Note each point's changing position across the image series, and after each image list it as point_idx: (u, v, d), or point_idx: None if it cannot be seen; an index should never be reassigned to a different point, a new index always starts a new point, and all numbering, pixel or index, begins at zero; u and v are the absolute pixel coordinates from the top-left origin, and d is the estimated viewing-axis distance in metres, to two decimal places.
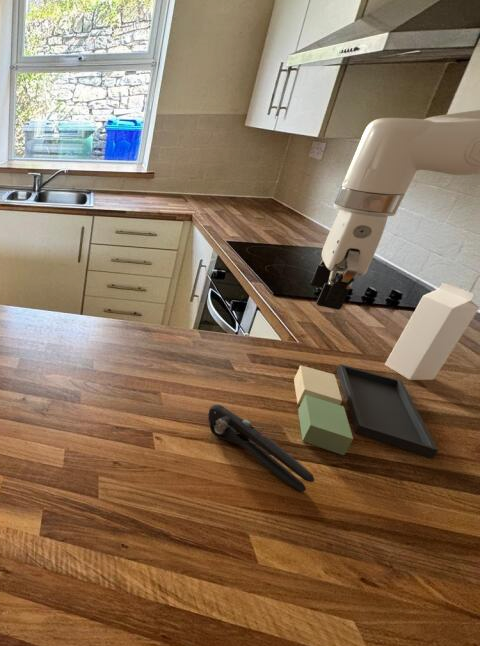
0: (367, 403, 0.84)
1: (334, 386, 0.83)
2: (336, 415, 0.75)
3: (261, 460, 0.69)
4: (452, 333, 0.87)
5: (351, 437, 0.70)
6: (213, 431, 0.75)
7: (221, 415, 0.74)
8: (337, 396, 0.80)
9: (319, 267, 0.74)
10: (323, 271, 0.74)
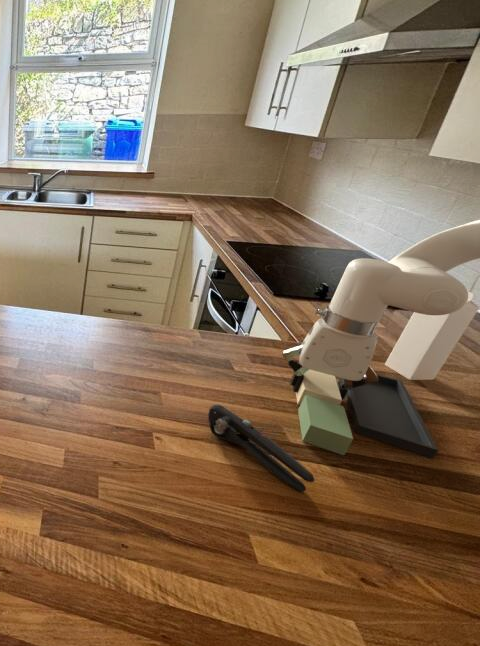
0: (367, 403, 0.84)
1: (334, 386, 0.83)
2: (336, 415, 0.75)
3: (261, 460, 0.69)
4: (452, 333, 0.86)
5: (351, 437, 0.70)
6: (213, 431, 0.75)
7: (221, 415, 0.74)
8: (337, 396, 0.80)
9: (338, 382, 0.84)
10: None
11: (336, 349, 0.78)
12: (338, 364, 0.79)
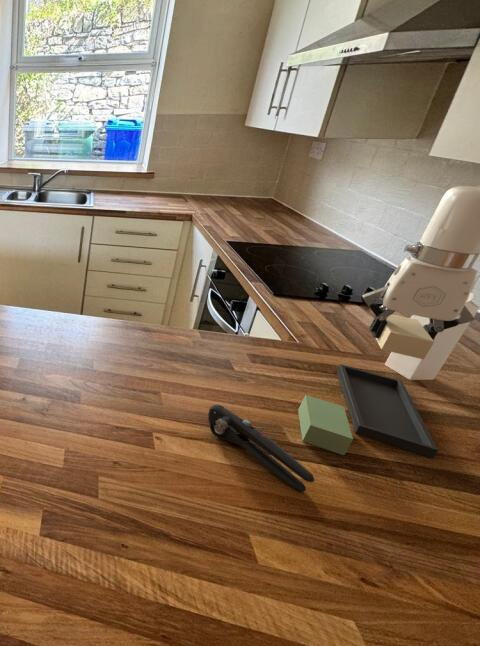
0: (367, 403, 0.84)
1: (421, 329, 0.78)
2: (336, 415, 0.75)
3: (261, 460, 0.69)
4: (452, 333, 0.86)
5: (351, 437, 0.70)
6: (213, 431, 0.75)
7: (221, 415, 0.74)
8: (428, 338, 0.75)
9: (424, 325, 0.79)
10: None
11: (429, 286, 0.73)
12: (430, 303, 0.74)
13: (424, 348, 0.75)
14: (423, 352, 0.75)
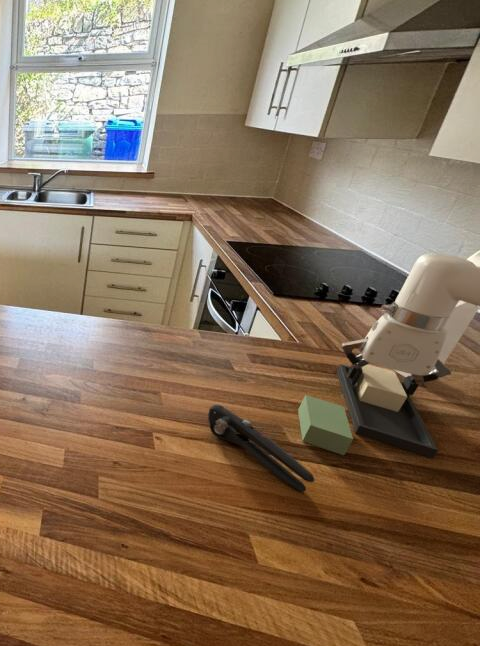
0: (367, 403, 0.84)
1: (396, 382, 0.84)
2: (336, 415, 0.75)
3: (261, 460, 0.69)
4: (452, 333, 0.86)
5: (351, 437, 0.70)
6: (213, 431, 0.75)
7: (221, 415, 0.74)
8: (402, 392, 0.81)
9: None
10: (406, 380, 0.83)
11: (403, 344, 0.79)
12: (405, 359, 0.80)
13: (398, 402, 0.81)
14: (397, 405, 0.81)
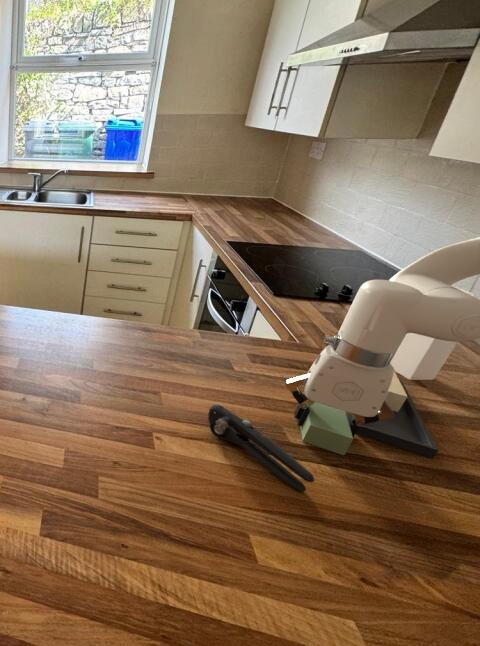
0: None
1: (396, 382, 0.84)
2: (336, 415, 0.75)
3: (261, 460, 0.69)
4: None
5: (351, 437, 0.70)
6: (213, 431, 0.75)
7: (221, 415, 0.74)
8: (402, 392, 0.81)
9: (348, 416, 0.75)
10: None
11: (347, 381, 0.69)
12: (349, 398, 0.70)
13: (398, 402, 0.81)
14: (397, 405, 0.81)
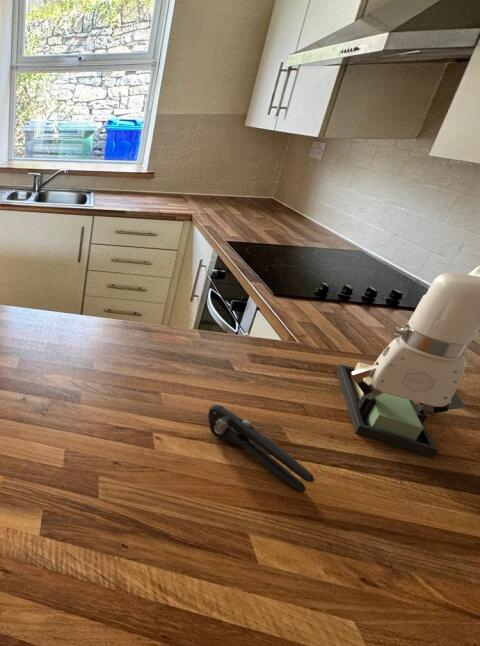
0: None
1: None
2: (402, 406, 0.77)
3: (261, 460, 0.69)
4: None
5: (421, 426, 0.72)
6: (213, 431, 0.75)
7: (221, 415, 0.74)
8: None
9: (414, 406, 0.77)
10: None
11: (418, 372, 0.71)
12: (419, 388, 0.72)
13: None
14: None
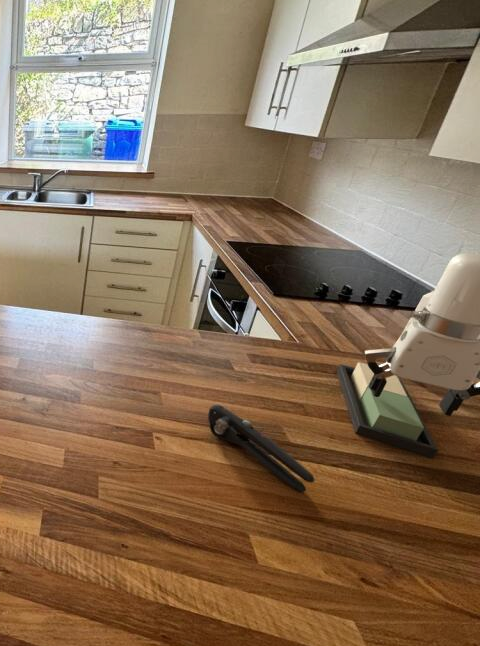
0: None
1: (396, 382, 0.84)
2: (403, 406, 0.77)
3: (261, 460, 0.68)
4: None
5: (422, 426, 0.72)
6: (213, 431, 0.75)
7: (221, 415, 0.74)
8: (402, 392, 0.81)
9: (449, 390, 0.74)
10: (448, 394, 0.74)
11: (438, 356, 0.70)
12: (440, 372, 0.71)
13: None
14: None
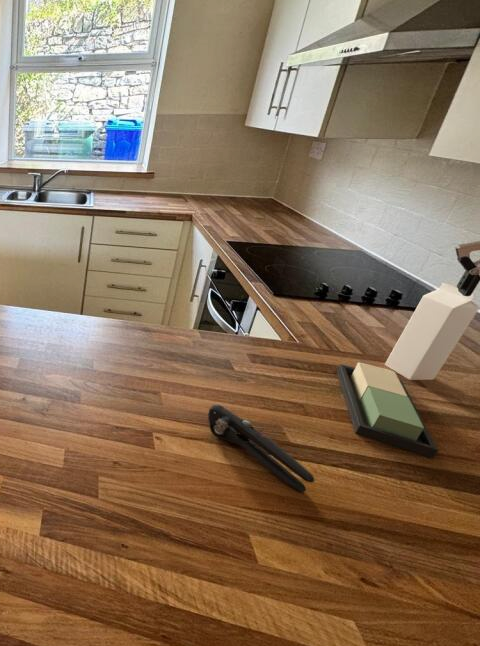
0: None
1: (396, 382, 0.84)
2: (403, 406, 0.77)
3: (261, 460, 0.68)
4: (452, 333, 0.86)
5: (422, 426, 0.72)
6: (213, 431, 0.75)
7: (221, 415, 0.74)
8: (402, 392, 0.81)
9: None
10: None
11: None
12: None
13: None
14: None
